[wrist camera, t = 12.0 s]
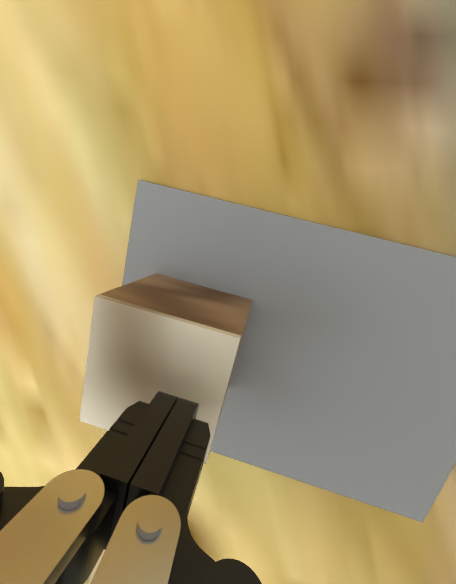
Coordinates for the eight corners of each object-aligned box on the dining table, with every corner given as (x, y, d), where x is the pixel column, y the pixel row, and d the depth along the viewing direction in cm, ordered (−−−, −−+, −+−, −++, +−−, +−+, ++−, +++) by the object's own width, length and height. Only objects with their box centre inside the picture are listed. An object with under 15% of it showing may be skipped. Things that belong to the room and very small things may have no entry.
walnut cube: (95, 296, 11) (155, 273, 17) (79, 420, 13) (140, 360, 19) (240, 338, 11) (252, 299, 16) (206, 463, 12) (228, 388, 18)
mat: (547, 279, 14) (555, 281, 14) (419, 516, 18) (422, 522, 18) (141, 180, 16) (138, 179, 16) (106, 411, 20) (102, 414, 20)
